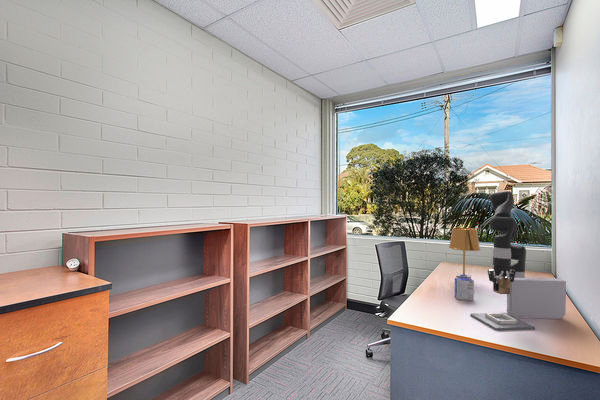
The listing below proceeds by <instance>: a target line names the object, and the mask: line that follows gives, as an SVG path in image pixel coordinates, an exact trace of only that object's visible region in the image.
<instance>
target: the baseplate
mask: <svg viewBox="0 0 600 400" xmlns="http://www.w3.org/2000/svg"><path fill="white" fill-rule="evenodd" d="M469 314H470V317H471V318H473V319H475V320H477V321H479V322H480V323H482V324H483V325H486V326H488V328H491V329H492V328H493V329H492V330H494V331H496V330H499V331H519V330H520V331H521V330H522V331H526V330H528V331H530V330H535V329H536V327H535V326H534V325H532V324H530V323H528V322H526V321H524V320H522V319H521V318H516V317H513V316H511V315H509V314H507V312H485V313H483V312H475V313H469Z"/></svg>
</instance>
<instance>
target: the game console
mask: <svg viewBox="0 0 600 400" xmlns="http://www.w3.org/2000/svg"><path fill="white" fill-rule="evenodd" d="M566 288H567V280H565V279H561V278H556V277H555V278H552V277H525V278H514V282H510V294H506V313H507V314H509V315H511V316H513V317H515V318H518V319H552V320H554V319H555V320H557V319H558V320H562V318H563V317H565V316H566V312H567V311H566V308H567V307H566V304H567V303H566V299H567V298H566V297H567V296H566V295H567V289H566Z"/></svg>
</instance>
